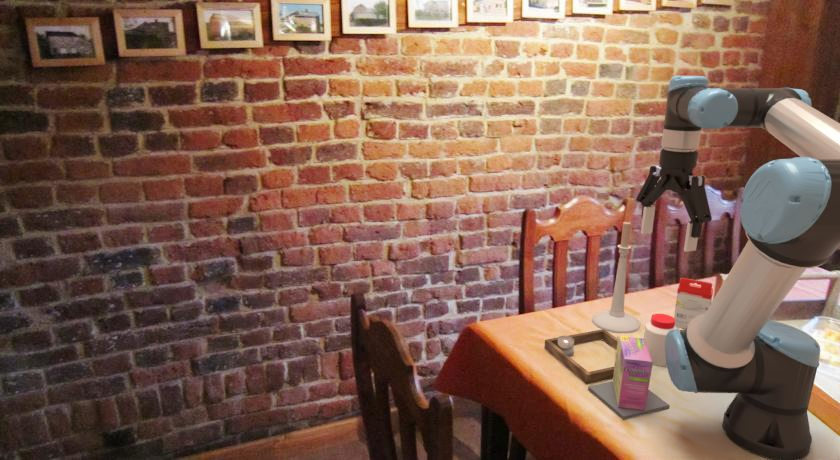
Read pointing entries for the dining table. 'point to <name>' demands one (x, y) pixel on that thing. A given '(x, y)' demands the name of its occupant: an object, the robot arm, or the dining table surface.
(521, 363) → the dining table surface
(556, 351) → the wooden tray
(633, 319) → the candlestick
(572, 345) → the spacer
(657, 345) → the pill bottle
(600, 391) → the coaster
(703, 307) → the ink box
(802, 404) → the robot arm
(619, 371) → the box
